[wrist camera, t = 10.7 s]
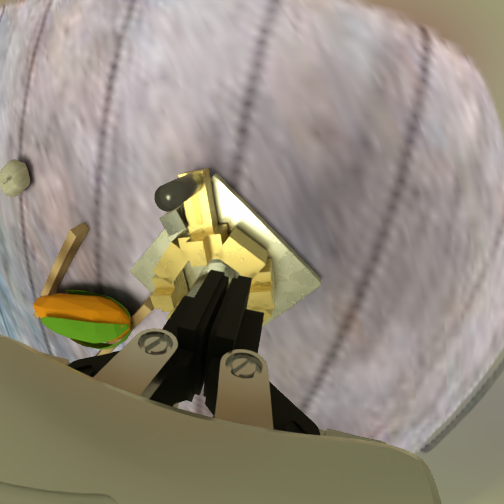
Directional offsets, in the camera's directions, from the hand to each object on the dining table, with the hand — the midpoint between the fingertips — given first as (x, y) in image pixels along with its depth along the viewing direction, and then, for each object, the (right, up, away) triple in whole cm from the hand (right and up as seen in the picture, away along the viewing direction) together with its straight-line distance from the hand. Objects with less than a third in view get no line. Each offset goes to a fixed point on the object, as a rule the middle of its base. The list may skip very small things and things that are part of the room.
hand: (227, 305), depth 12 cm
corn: (-24, -6, +27) cm, 36 cm away
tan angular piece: (-3, +2, +19) cm, 19 cm away
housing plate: (-3, 0, +22) cm, 22 cm away
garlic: (-33, +14, +20) cm, 41 cm away
